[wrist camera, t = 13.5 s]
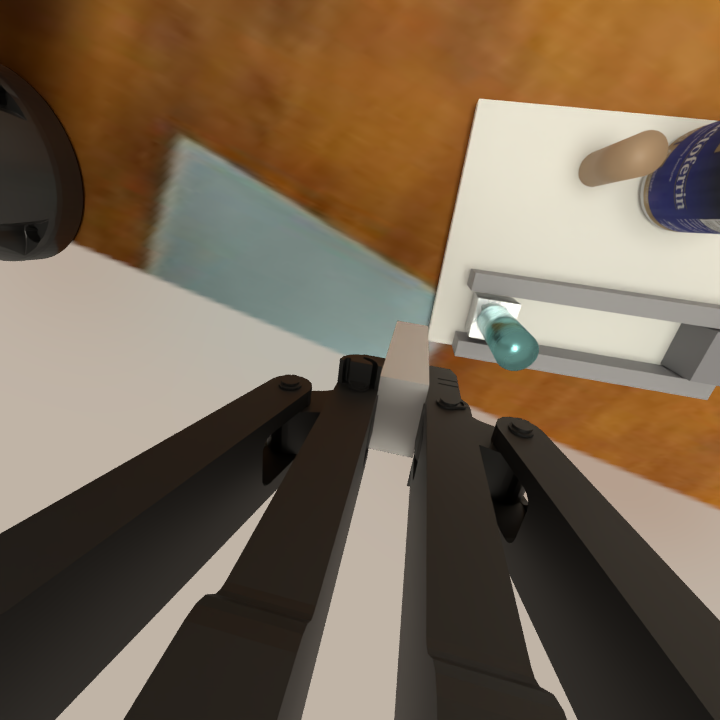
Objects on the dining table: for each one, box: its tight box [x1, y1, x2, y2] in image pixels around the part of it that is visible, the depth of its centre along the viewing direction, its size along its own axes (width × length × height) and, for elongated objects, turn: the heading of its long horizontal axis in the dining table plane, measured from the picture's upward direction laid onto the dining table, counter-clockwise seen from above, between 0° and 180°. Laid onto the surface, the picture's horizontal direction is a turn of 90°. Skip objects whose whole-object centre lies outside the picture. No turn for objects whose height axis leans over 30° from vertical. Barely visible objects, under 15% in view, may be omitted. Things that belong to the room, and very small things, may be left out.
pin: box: [465, 292, 539, 371], centre depth 22 cm, size 3×3×8 cm
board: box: [428, 99, 720, 400], centre depth 21 cm, size 20×16×6 cm
